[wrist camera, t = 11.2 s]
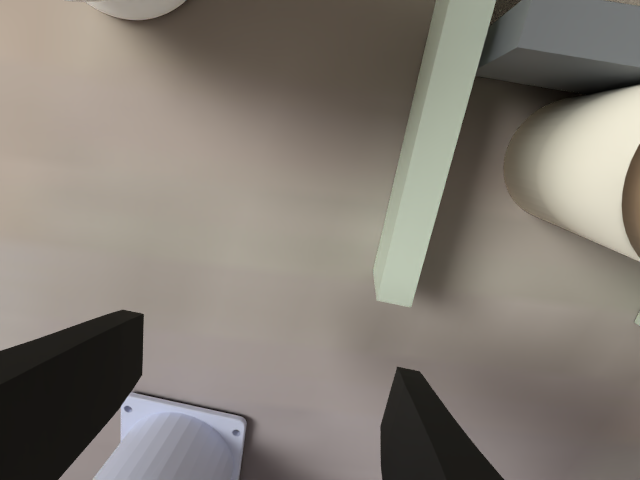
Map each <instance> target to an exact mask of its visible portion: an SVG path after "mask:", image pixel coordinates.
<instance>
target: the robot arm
mask: <svg viewBox="0 0 640 480" xmlns="http://www.w3.org/2000/svg"><path fill="white" fill-rule="evenodd" d="M143 321H144V314H141V313H136V312H131V311H126V310H120V311H117V312H113V313H110V314H107V315H104V316H101V317H98V318H95V319H92V320H89V321H86V322H84V323H81V324H78V325H75V326H72V327H70V328H67V329H64V330H61V331H58V332H56V333H53V334H50V335H47V336H44V337H41V338H39V339H36V340H33V341H30V342H27V343H23V344H20V345H17V346H14V347H11V348H8V349H5V350H2V351H0V480H58V479H59V478H60V477H61V476H62V475H63V473H64V472H65V471H66V470H67V469H68V468H69V467H70V465H71V464H72V463H73V462H74V461H75V460H76V458H77V457H78V456H79V455H80V454H81V453H82V452H83V450H84V449H85V448H86V447H87V446H88V445H89V443H90V442H91V441H92V440H93V439H94V438H95V437H96V435H97V434H98V433H99V432H100V431H101V430H102V428H103V427H104V426H105V425H106V424H107V423H108V421H109V420H110V419H111V418H112V417H113V416H114V414H115V413H116V412H117V411H118V410H119V408H120V407H121V443H120V444H119V445H118V447H117V448H116V449H115V451H114V452H113V453H112V455H111V456H110V457H109V458H108V460H107V461H106V462H105V464H104V465H103V466H102V468H101V469H100V470H99V472H98V473H97V474H96V475H95V477H94V478H93V479H92V480H239V477H240V469H241V462H242V455H243V447H244V440H245V433H246V426H247V422H246V420H245V419H244V418H243V417H241V416H238V415H233V414H228V413H224V412H219V411H215V410H210V409H205V408H201V407H196V406H192V405H187V404H183V403H178V402H173V401H169V400H164V399H160V398H155V397H151V396H146V395H141V394H137V393H132V392H131V391H132V390H133V388H134V386H135V385H136V383H137V382H138V380H139V379H140V377H141V376H142V362H143ZM129 406H130V407H129ZM236 430H239V431H236ZM381 471H382V480H504V479H503V478H502V477H501V475H500V474H499V473H498V472H497V471H496V470H495V468H494V467H493V466H492V465H491V464H490V463H489V461H488V460H487V459H486V458H485V457H484V456H483V454H482V453H481V452H480V451H479V450H478V448H477V447H476V446H475V445H474V443H473V442H472V441H471V440H470V438H469V437H468V436H467V435H466V433H465V432H464V431H463V430H462V428H461V427H460V426H459V424H458V423H457V422H456V420H455V419H454V418H453V416H452V415H451V414H450V412H449V411H448V410H447V408H446V407H445V406H444V404H443V403H442V401H441V400H440V399H439V397H438V396H437V395H436V393H435V392H434V390H433V389H432V388H431V386H430V385H429V383H428V382H427V381H426V379H425V378H424V377H423V375H422V374H421V373H420V371H415V370H410V369H406V368H401V367H397V369H396V373H395V377H394V380H393V384H392V387H391V391H390V394H389V398H388V402H387V405H386V409H385V412H384V416H383V419H382V423H381Z"/></svg>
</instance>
